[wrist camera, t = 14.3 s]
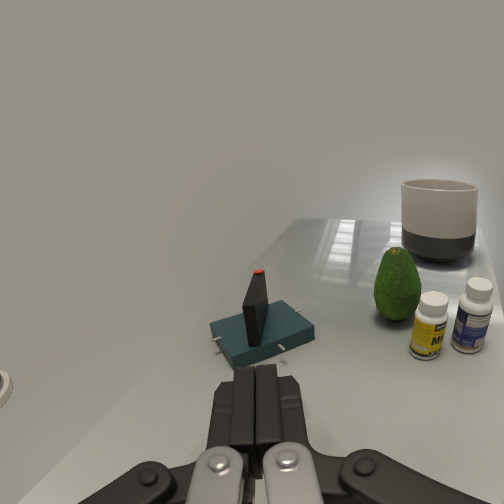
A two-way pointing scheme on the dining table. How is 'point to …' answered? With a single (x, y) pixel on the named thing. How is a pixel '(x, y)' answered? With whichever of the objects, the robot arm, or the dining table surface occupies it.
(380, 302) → the avocado
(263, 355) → the teal base plate
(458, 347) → the pill bottle
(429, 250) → the planter
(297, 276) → the dining table surface
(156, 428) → the dining table surface
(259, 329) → the red-tipped black panel
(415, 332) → the supplement bottle
